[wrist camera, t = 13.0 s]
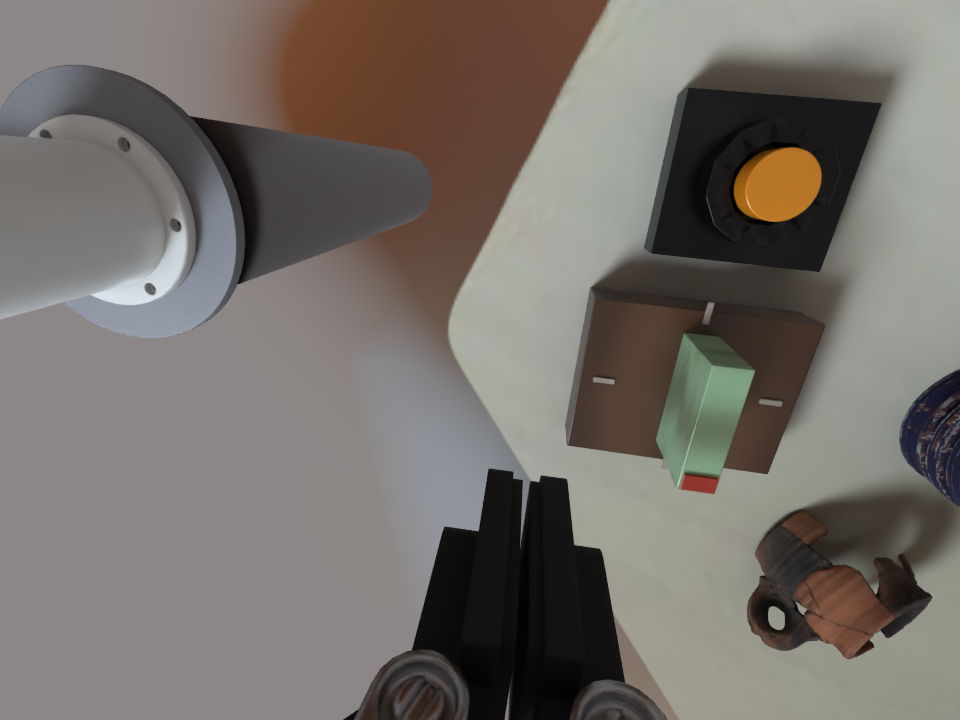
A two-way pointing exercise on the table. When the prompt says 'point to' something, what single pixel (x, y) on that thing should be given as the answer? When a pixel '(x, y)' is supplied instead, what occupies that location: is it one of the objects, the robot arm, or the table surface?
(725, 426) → the pale green flat block
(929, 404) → the storage jar
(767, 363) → the base
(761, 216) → the button
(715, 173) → the button block
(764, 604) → the pottery mug
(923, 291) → the table surface
